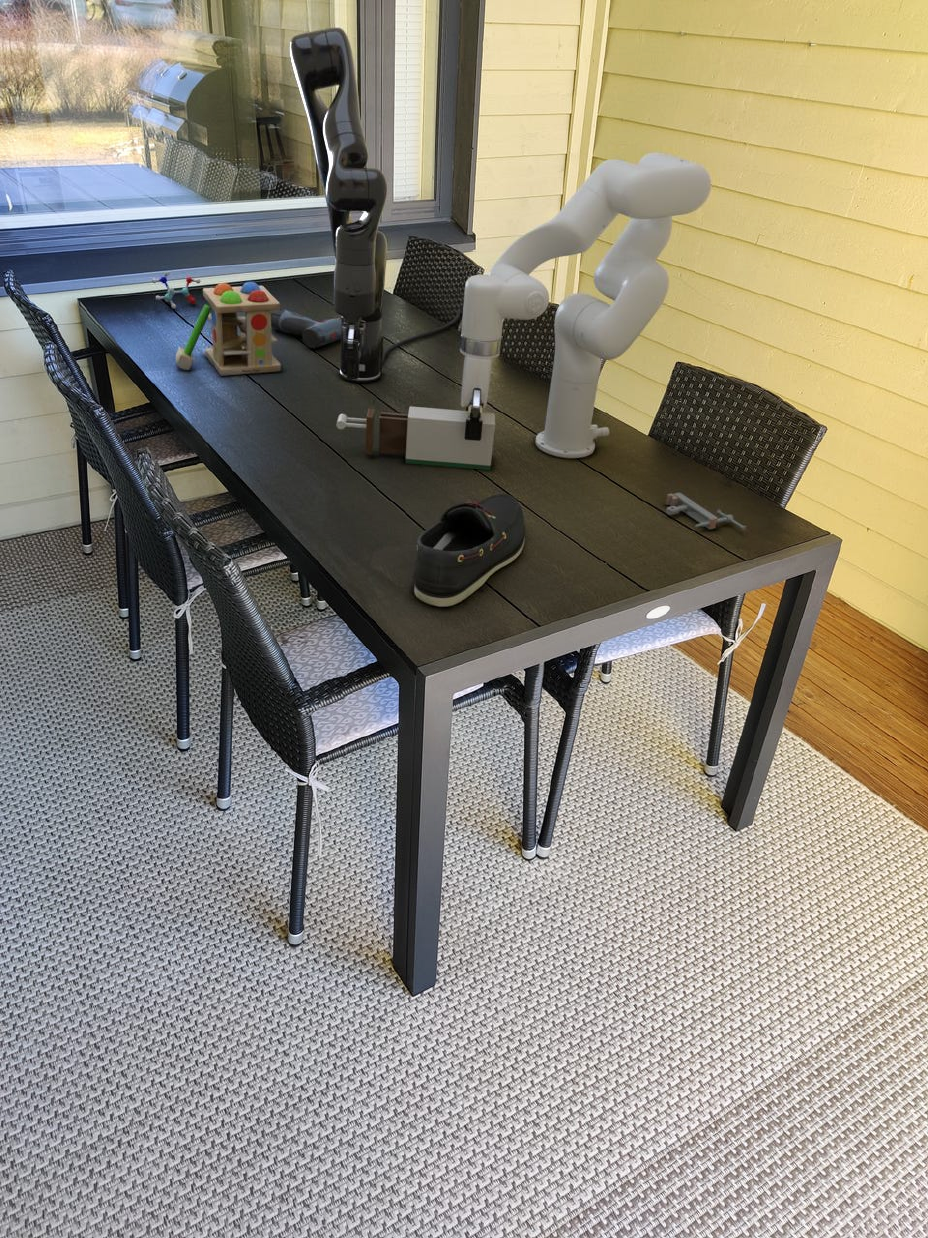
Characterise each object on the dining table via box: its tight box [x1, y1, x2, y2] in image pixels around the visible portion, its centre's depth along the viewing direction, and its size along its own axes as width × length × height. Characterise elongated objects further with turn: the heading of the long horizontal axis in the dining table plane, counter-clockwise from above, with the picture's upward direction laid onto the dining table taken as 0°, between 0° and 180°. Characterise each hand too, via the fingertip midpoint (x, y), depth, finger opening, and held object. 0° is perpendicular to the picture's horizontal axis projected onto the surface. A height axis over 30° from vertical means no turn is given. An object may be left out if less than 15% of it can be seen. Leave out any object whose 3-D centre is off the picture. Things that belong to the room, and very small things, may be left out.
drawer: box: [336, 408, 409, 456], centre depth 194 cm, size 22×4×8 cm, turn 89°
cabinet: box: [404, 405, 496, 471], centre depth 195 cm, size 17×6×10 cm, turn 89°
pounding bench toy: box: [174, 281, 282, 377], centre depth 225 cm, size 23×14×18 cm, turn 116°
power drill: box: [271, 308, 341, 349], centre depth 252 cm, size 5×19×20 cm
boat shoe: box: [412, 493, 526, 608], centre depth 163 cm, size 13×33×10 cm, turn 147°
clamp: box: [665, 492, 747, 532], centre depth 184 cm, size 15×2×10 cm
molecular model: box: [151, 270, 201, 310], centre depth 262 cm, size 12×10×10 cm
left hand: (352, 377), depth 188 cm, fingers closed
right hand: (472, 429), depth 194 cm, fingers open, 9 cm apart
